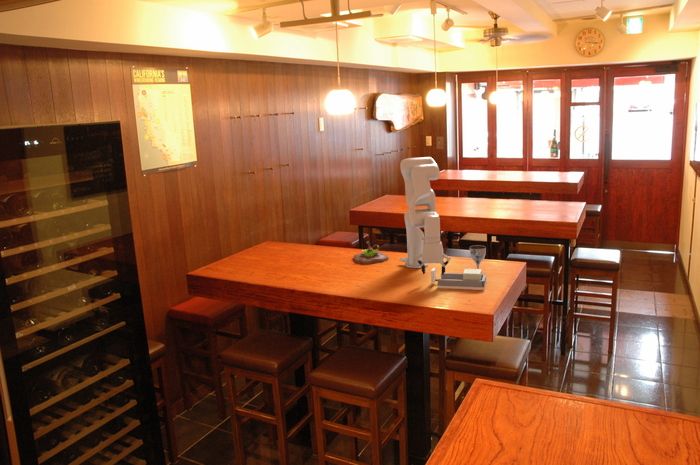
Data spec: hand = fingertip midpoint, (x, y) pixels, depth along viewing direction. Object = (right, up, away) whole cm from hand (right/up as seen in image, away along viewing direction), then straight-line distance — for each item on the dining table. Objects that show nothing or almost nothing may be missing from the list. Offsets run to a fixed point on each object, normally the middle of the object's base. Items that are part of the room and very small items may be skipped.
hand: (433, 273), depth 281 cm
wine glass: (+24, -2, +11) cm, 27 cm away
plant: (-29, +4, +54) cm, 62 cm away
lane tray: (+14, -5, -3) cm, 15 cm away
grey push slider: (+11, -4, -2) cm, 12 cm away
